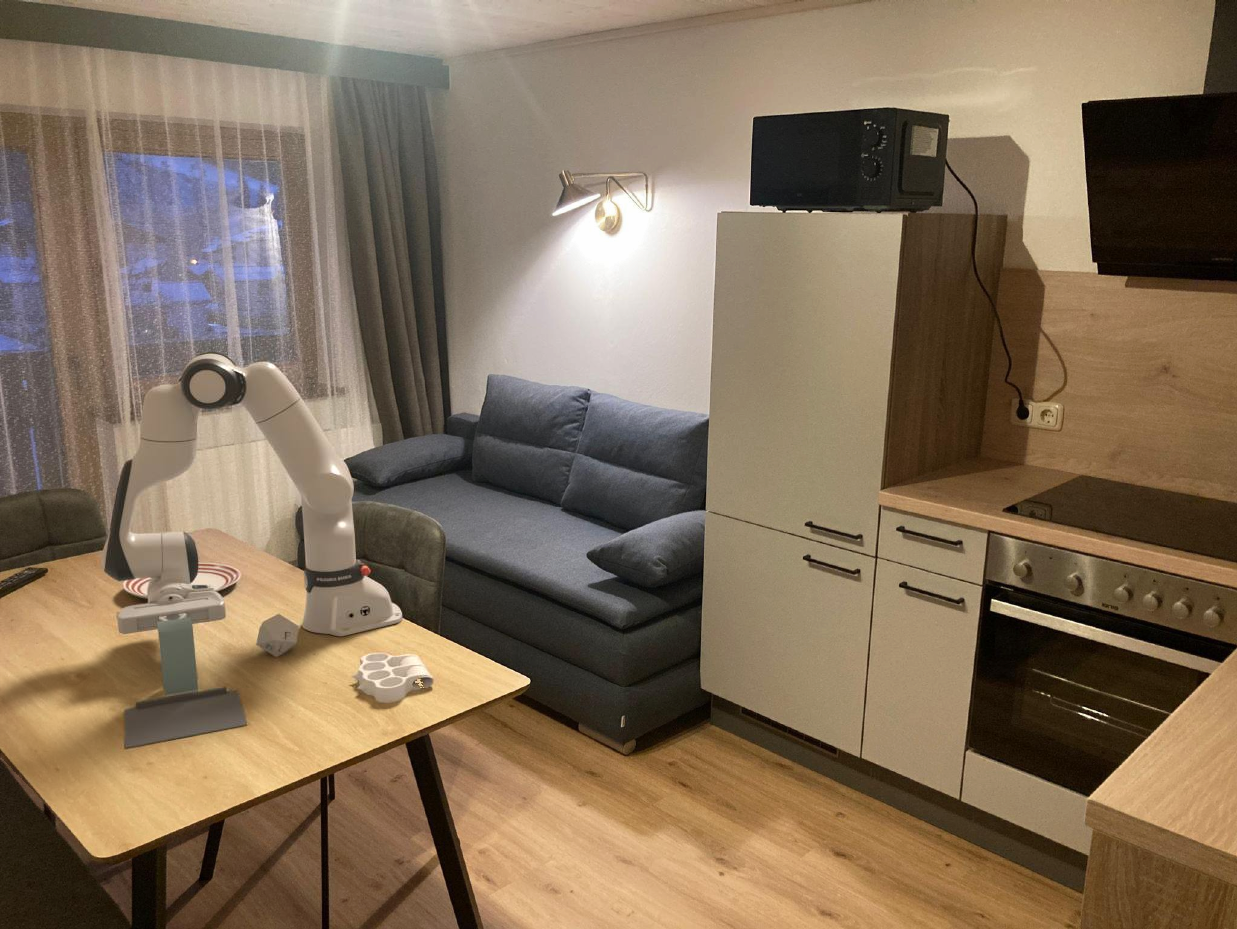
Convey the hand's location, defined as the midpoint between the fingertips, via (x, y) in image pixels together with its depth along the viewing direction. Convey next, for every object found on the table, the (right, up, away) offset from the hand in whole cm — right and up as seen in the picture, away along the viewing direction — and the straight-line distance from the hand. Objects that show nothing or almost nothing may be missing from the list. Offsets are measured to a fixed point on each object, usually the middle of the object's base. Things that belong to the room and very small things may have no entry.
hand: (174, 627), depth 197 cm
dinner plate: (-21, 0, +53) cm, 58 cm away
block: (+3, -12, -3) cm, 13 cm away
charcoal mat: (+8, -15, -14) cm, 22 cm away
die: (+16, -8, +16) cm, 24 cm away
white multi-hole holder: (+43, -12, +2) cm, 45 cm away
